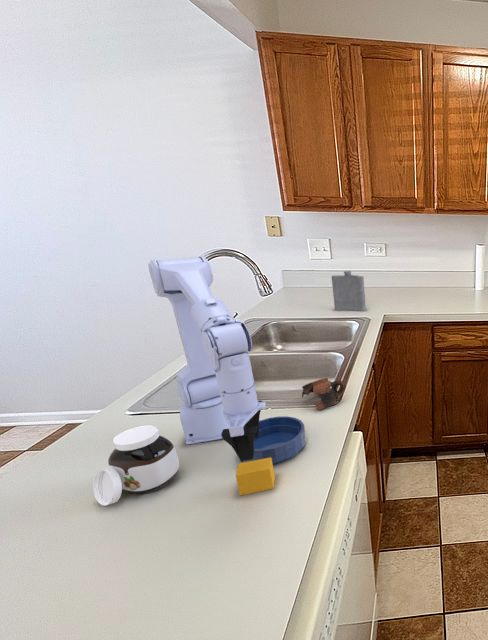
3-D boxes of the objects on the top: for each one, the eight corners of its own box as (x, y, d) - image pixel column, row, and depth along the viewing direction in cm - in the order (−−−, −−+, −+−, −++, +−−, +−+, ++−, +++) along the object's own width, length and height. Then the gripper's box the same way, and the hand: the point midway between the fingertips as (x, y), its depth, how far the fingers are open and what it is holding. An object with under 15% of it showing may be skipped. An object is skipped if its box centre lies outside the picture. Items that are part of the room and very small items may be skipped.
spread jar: (188, 470, 86) (175, 424, 82) (149, 509, 75) (132, 458, 71) (131, 470, 85) (115, 423, 81) (83, 509, 75) (62, 458, 70)
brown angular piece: (306, 415, 109) (295, 387, 109) (312, 413, 118) (302, 387, 118) (349, 398, 112) (339, 371, 112) (351, 397, 121) (342, 372, 121)
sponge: (240, 495, 79) (235, 475, 77) (243, 482, 83) (238, 463, 81) (273, 488, 81) (269, 468, 79) (275, 476, 85) (271, 457, 83)
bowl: (234, 473, 85) (230, 456, 84) (244, 437, 97) (241, 422, 96) (306, 459, 90) (303, 443, 89) (306, 427, 103) (304, 412, 101)
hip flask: (334, 310, 204) (329, 271, 197) (336, 308, 207) (332, 270, 200) (365, 311, 204) (362, 272, 197) (367, 308, 208) (364, 270, 201)
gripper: (256, 401, 69) (269, 465, 74) (265, 368, 81) (275, 425, 86) (209, 407, 66) (225, 473, 71) (225, 373, 79) (238, 431, 84)
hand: (250, 447), depth 79 cm, fingers open, 7 cm apart
